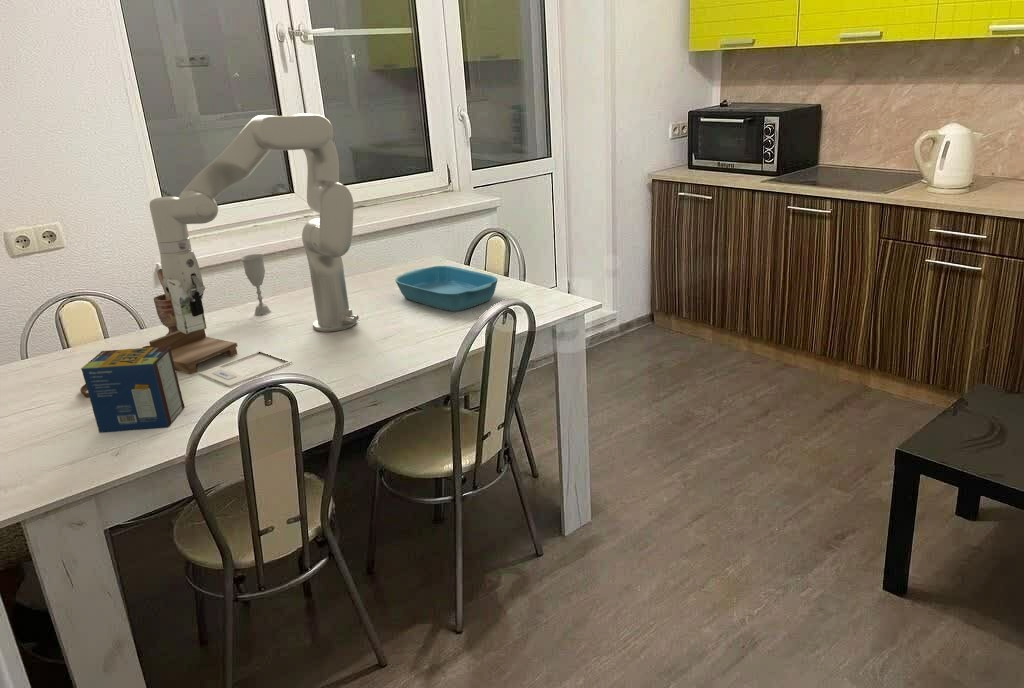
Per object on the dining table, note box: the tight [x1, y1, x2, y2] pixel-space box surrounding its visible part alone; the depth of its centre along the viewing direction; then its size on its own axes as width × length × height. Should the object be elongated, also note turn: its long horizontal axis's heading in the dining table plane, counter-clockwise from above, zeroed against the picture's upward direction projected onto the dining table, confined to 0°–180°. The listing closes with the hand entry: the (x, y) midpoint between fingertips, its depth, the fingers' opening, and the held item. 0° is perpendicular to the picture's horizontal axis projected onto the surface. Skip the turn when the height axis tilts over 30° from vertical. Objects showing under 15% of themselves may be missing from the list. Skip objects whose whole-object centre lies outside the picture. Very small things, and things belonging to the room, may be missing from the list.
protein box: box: [80, 346, 185, 434], centre depth 169 cm, size 10×15×16 cm
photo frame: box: [198, 350, 293, 388], centre depth 197 cm, size 15×1×18 cm
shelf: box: [148, 329, 238, 375], centre depth 204 cm, size 14×16×7 cm
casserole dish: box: [395, 265, 498, 312], centre depth 243 cm, size 37×22×7 cm, turn 44°
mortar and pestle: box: [153, 268, 179, 336], centre depth 219 cm, size 12×9×20 cm
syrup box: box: [167, 279, 208, 334], centre depth 199 cm, size 6×6×14 cm
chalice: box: [240, 253, 271, 316], centre depth 238 cm, size 7×7×18 cm
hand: (189, 312), depth 200 cm, fingers closed on syrup box, 6 cm apart
